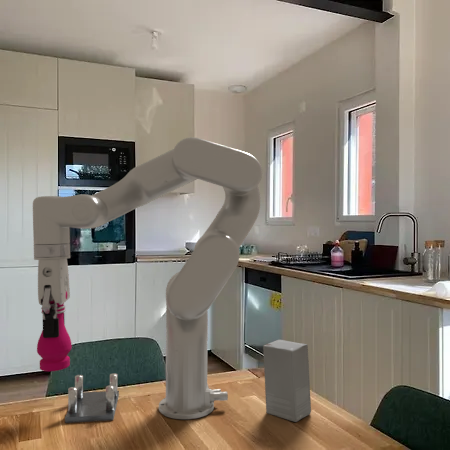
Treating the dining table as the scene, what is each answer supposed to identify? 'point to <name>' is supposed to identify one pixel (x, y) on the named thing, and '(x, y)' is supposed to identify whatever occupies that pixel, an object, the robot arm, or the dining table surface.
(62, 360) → the pepper mill
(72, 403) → the stand
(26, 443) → the dining table surface
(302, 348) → the skincare box
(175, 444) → the dining table surface
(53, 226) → the robot arm
